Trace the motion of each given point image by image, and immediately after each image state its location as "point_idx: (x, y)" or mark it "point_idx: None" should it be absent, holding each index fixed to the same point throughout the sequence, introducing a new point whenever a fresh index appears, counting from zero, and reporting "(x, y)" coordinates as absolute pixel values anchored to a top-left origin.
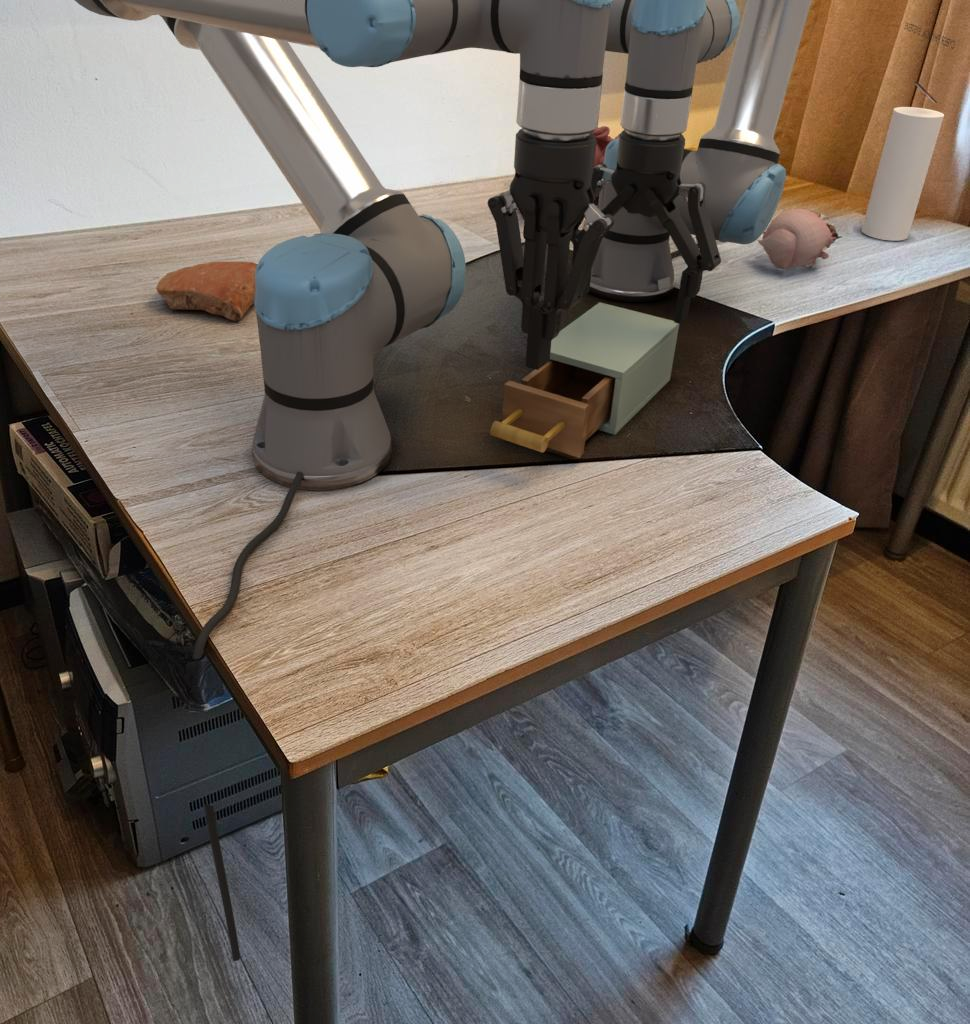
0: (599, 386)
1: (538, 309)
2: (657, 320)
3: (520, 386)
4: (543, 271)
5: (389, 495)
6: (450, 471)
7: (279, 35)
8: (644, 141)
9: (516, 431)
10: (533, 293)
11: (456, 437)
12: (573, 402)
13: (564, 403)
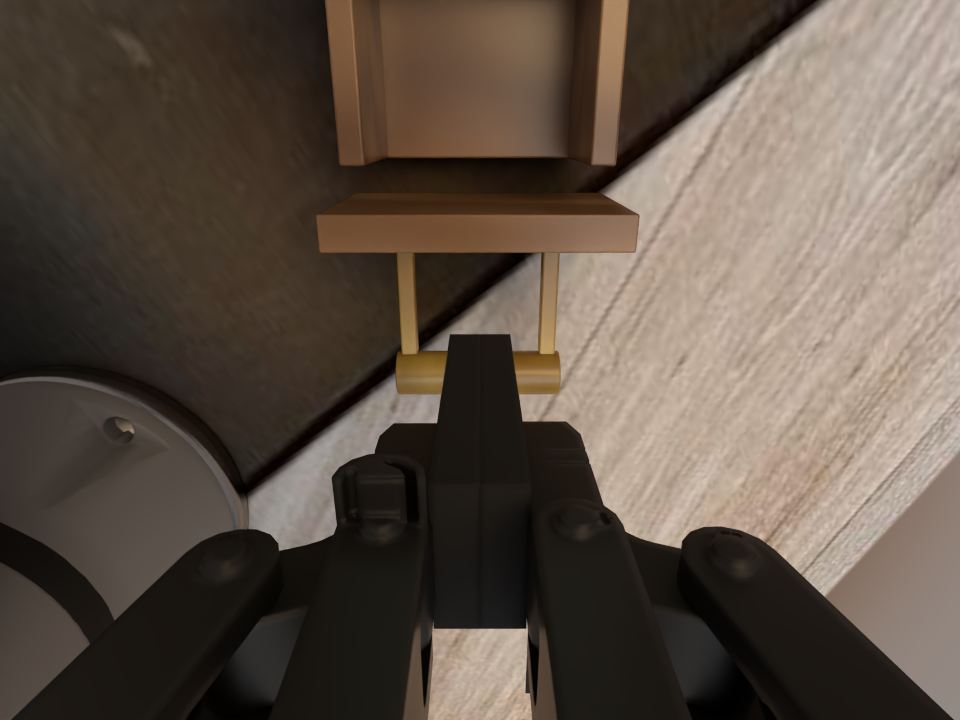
0: (616, 29)
1: (491, 620)
2: None
3: (374, 234)
4: (405, 706)
5: (315, 535)
6: (353, 408)
7: None
8: None
9: None
10: (428, 684)
11: (265, 274)
12: (585, 235)
13: (558, 252)
